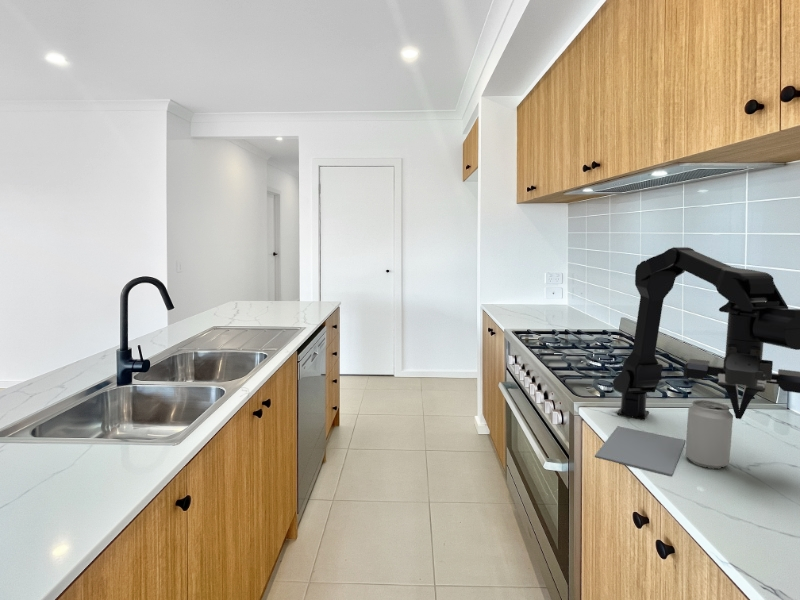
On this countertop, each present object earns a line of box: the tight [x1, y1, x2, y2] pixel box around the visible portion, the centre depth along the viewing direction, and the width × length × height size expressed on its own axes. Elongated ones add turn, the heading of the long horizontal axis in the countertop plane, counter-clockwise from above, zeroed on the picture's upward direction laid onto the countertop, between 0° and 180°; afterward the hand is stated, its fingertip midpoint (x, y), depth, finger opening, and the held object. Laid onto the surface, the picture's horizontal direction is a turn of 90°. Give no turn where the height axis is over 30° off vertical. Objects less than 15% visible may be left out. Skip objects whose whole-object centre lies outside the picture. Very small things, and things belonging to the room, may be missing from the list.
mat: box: [594, 425, 686, 477], centre depth 103 cm, size 20×14×1 cm
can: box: [684, 399, 734, 469], centre depth 96 cm, size 8×8×12 cm
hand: (738, 418), depth 93 cm, fingers closed
